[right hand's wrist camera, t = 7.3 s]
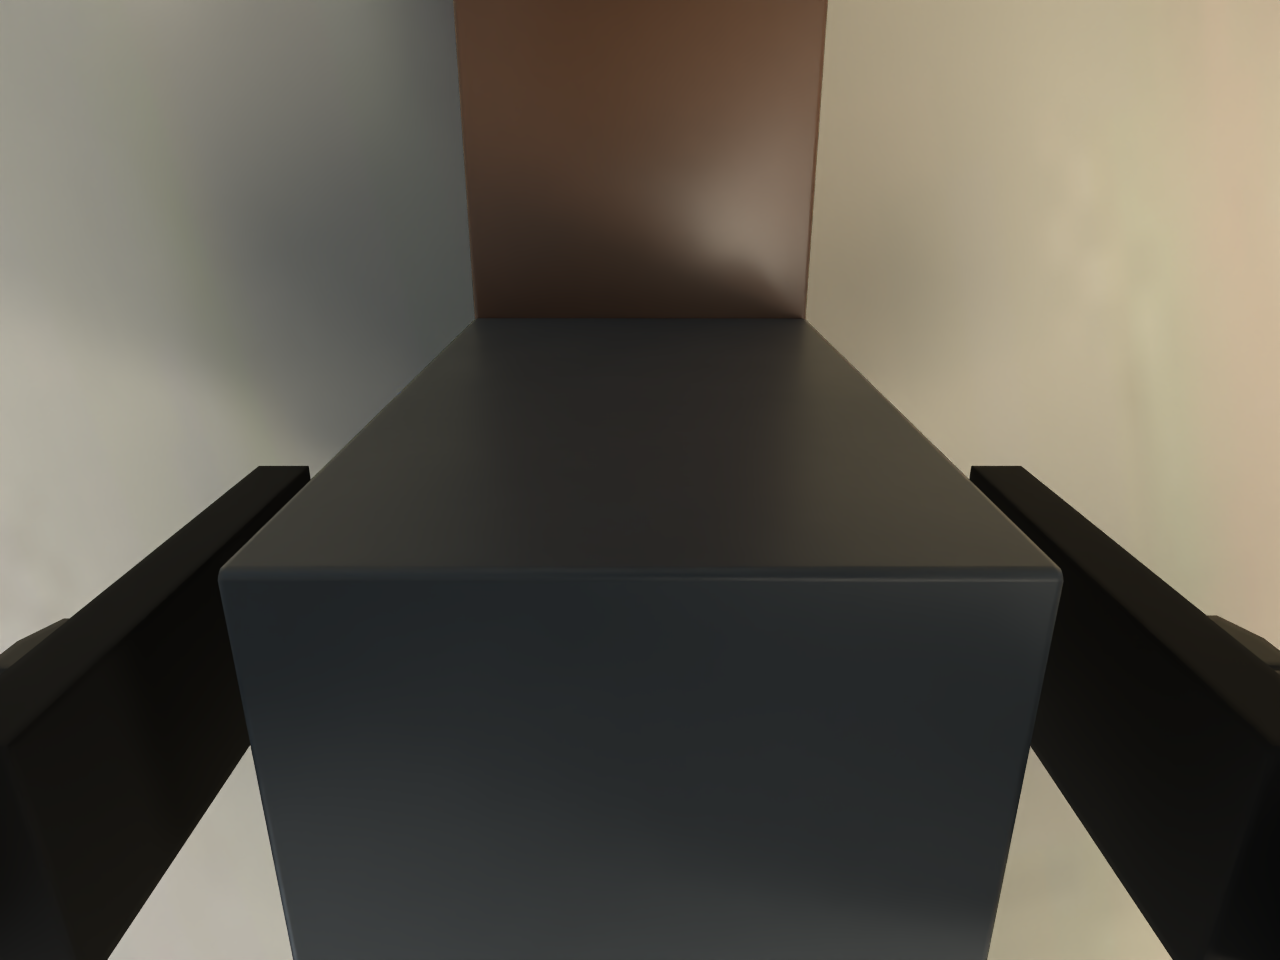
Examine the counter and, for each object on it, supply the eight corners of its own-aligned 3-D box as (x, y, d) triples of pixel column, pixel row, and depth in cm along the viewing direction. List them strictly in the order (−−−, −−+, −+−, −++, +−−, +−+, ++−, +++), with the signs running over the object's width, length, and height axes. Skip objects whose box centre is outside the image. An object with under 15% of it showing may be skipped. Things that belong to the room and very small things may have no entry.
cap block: (785, 610, 17) (955, 1136, 8) (494, 609, 17) (324, 1136, 8) (806, 317, 15) (1071, 570, 6) (473, 317, 15) (209, 570, 6)
